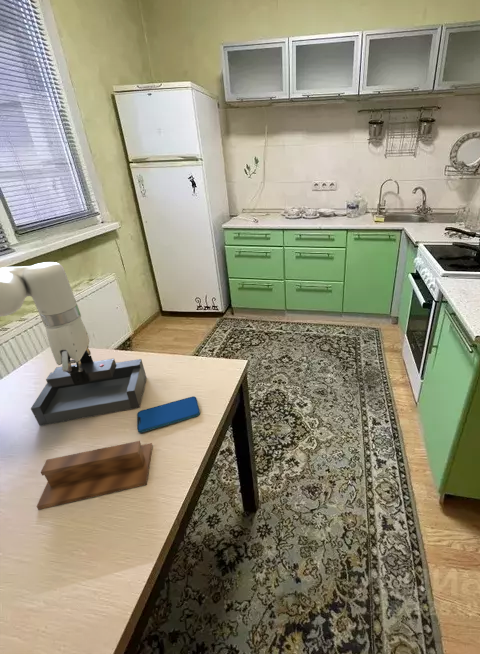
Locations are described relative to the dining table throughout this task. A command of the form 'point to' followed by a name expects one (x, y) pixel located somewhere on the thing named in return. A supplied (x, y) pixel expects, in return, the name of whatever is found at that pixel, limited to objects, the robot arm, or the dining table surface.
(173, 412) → the smartphone
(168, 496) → the dining table surface
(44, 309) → the robot arm
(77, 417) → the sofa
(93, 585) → the dining table surface
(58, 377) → the remote
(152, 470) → the dining table surface
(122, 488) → the stepped wooden stand
